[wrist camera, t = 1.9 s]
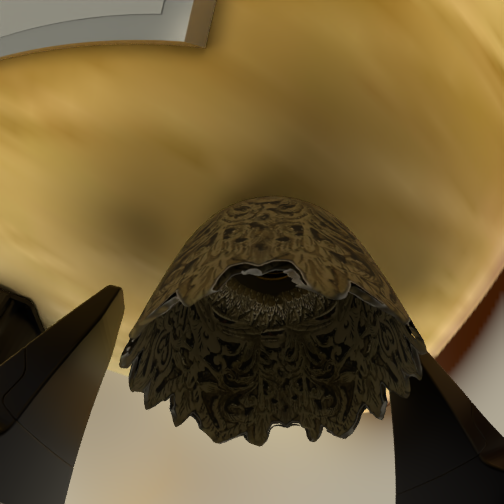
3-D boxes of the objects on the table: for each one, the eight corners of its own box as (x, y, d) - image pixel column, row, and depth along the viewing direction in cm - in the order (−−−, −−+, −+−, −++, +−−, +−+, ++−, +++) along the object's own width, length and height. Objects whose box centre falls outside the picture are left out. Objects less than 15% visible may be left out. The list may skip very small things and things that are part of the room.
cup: (204, 298, 15) (174, 445, 9) (170, 160, 11) (60, 300, 5) (349, 289, 15) (383, 437, 8) (359, 145, 11) (476, 277, 4)
